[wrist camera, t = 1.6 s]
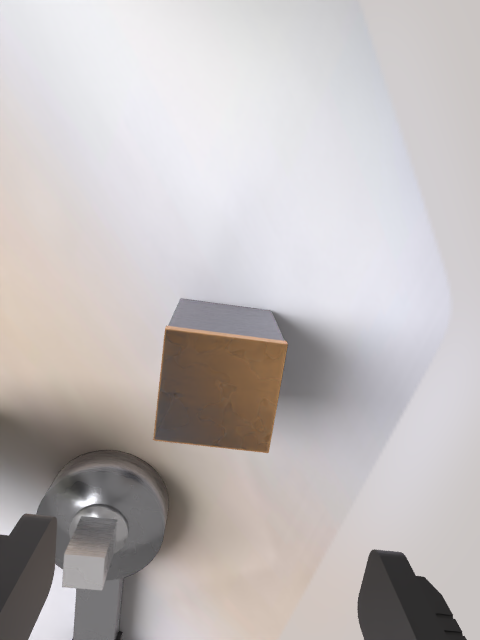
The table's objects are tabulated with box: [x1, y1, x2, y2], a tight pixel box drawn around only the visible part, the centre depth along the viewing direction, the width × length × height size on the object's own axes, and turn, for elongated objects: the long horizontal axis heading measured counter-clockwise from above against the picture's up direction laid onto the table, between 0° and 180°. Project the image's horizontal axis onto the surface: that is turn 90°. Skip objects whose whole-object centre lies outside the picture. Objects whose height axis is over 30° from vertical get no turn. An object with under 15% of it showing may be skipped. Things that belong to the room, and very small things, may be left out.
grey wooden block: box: [153, 299, 288, 453], centre depth 25 cm, size 6×6×7 cm
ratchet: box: [36, 450, 169, 640], centre depth 29 cm, size 21×8×6 cm, turn 172°
